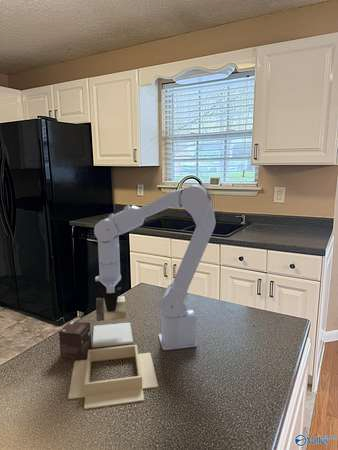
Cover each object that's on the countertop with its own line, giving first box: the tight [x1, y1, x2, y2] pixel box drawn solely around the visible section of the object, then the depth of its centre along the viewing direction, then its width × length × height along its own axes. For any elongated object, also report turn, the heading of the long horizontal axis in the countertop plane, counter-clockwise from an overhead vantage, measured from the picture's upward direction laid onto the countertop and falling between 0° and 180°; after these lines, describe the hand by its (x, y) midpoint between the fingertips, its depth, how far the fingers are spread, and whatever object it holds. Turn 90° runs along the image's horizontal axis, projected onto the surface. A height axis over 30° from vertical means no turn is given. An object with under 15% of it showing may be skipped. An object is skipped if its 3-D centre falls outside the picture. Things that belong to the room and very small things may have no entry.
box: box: [58, 320, 92, 361], centre depth 83 cm, size 6×6×7 cm
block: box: [95, 295, 127, 322], centre depth 90 cm, size 8×4×5 cm, turn 101°
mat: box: [91, 321, 134, 349], centre depth 92 cm, size 11×11×1 cm
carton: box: [67, 344, 159, 410], centre depth 75 cm, size 19×20×3 cm
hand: (111, 307), depth 90 cm, fingers closed on block, 4 cm apart
